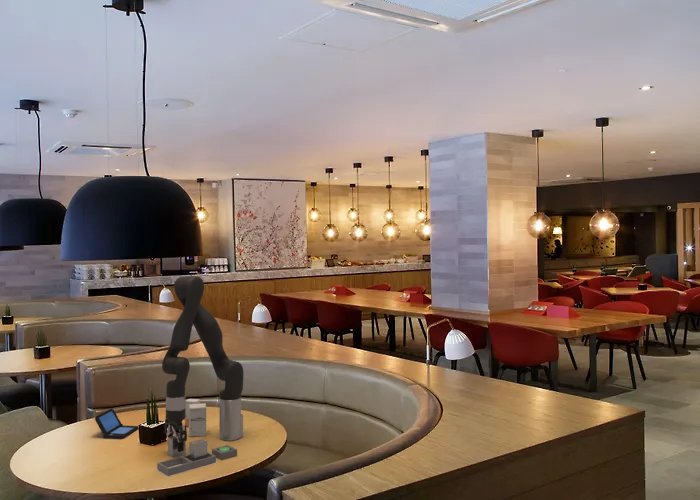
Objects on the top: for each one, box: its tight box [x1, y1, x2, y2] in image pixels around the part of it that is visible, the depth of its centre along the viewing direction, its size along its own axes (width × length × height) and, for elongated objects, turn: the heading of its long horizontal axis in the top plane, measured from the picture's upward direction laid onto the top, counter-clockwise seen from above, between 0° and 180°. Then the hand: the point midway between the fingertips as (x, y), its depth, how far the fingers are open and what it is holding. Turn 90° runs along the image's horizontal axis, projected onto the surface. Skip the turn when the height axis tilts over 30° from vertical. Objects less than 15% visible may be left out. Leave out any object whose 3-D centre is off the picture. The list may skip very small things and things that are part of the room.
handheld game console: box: [94, 408, 139, 440], centre depth 269 cm, size 16×13×9 cm
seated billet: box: [188, 438, 208, 462], centre depth 230 cm, size 6×4×8 cm
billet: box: [167, 435, 187, 458], centre depth 239 cm, size 6×4×8 cm
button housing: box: [211, 444, 238, 461], centre depth 238 cm, size 7×7×4 cm
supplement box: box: [188, 402, 207, 438], centre depth 267 cm, size 7×7×13 cm
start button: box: [219, 446, 230, 452], centre depth 238 cm, size 4×4×2 cm
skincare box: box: [184, 398, 201, 428], centre depth 279 cm, size 6×4×12 cm
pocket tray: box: [155, 451, 219, 478], centre depth 227 cm, size 20×10×4 cm, turn 133°
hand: (175, 448), depth 239 cm, fingers open, 8 cm apart
